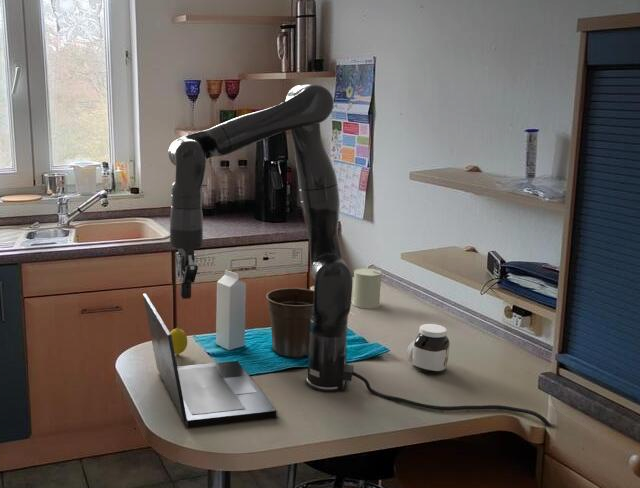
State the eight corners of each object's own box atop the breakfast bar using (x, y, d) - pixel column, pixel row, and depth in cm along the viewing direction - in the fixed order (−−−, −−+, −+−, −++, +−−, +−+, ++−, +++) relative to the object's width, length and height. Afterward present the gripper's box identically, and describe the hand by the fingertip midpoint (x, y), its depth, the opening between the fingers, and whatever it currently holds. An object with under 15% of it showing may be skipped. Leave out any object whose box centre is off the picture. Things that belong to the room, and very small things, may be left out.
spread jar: (434, 379, 191) (438, 336, 188) (395, 367, 198) (398, 326, 196) (454, 365, 200) (458, 325, 197) (415, 354, 207) (419, 315, 204)
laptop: (237, 367, 197) (237, 360, 197) (276, 417, 169) (276, 410, 169) (160, 374, 192) (160, 367, 192) (187, 428, 164) (187, 420, 163)
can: (376, 310, 244) (378, 275, 242) (349, 306, 248) (351, 272, 245) (382, 302, 253) (384, 268, 250) (355, 298, 256) (357, 265, 254)
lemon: (180, 360, 201) (180, 332, 200) (163, 356, 204) (163, 328, 202) (191, 353, 206) (191, 326, 204) (174, 349, 209) (174, 323, 207)
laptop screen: (146, 293, 186) (142, 293, 186) (171, 334, 158) (167, 335, 158) (160, 367, 192) (157, 368, 192) (187, 420, 164) (183, 421, 163)
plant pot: (260, 357, 204) (261, 302, 200) (268, 337, 219) (270, 285, 215) (319, 363, 200) (322, 307, 196) (324, 342, 215) (326, 290, 212)
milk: (228, 350, 209) (230, 276, 204) (215, 344, 213) (216, 271, 208) (245, 345, 212) (246, 272, 207) (231, 339, 217) (233, 267, 212)
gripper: (209, 231, 164) (208, 305, 168) (195, 219, 176) (194, 288, 180) (176, 232, 162) (176, 307, 166) (164, 220, 174) (164, 290, 178)
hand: (185, 297), depth 173 cm, fingers closed
